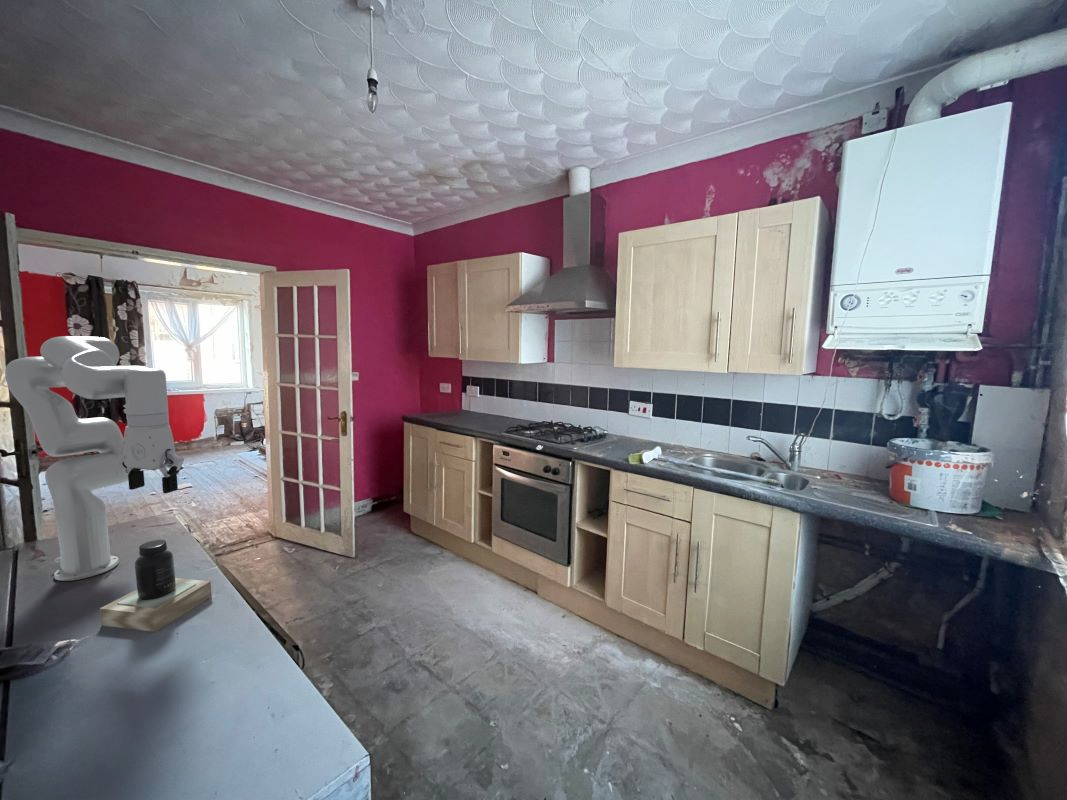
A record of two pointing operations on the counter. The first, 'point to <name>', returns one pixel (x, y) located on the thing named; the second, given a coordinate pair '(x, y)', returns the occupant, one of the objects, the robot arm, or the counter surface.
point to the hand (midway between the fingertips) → (153, 489)
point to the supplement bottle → (154, 570)
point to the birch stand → (155, 607)
